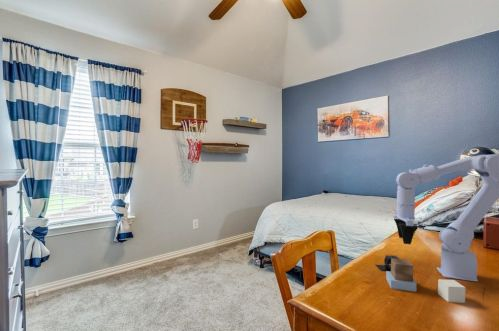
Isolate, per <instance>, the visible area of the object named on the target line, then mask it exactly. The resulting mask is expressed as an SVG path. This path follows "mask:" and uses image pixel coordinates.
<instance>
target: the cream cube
mask: <svg viewBox="0 0 499 331" xmlns="http://www.w3.org/2000/svg"><path fill="white" fill-rule="evenodd" d="M437 294H438V295H439V296H440V297H441V298H443V300H445V301H447V302H448V303H463V304H465V303H466V287H465V286H464V285H463V284H461V283H459V282H458V281H456V280H455V279H443V278H442V279H441V278H439V279H438V280H437Z"/></svg>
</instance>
